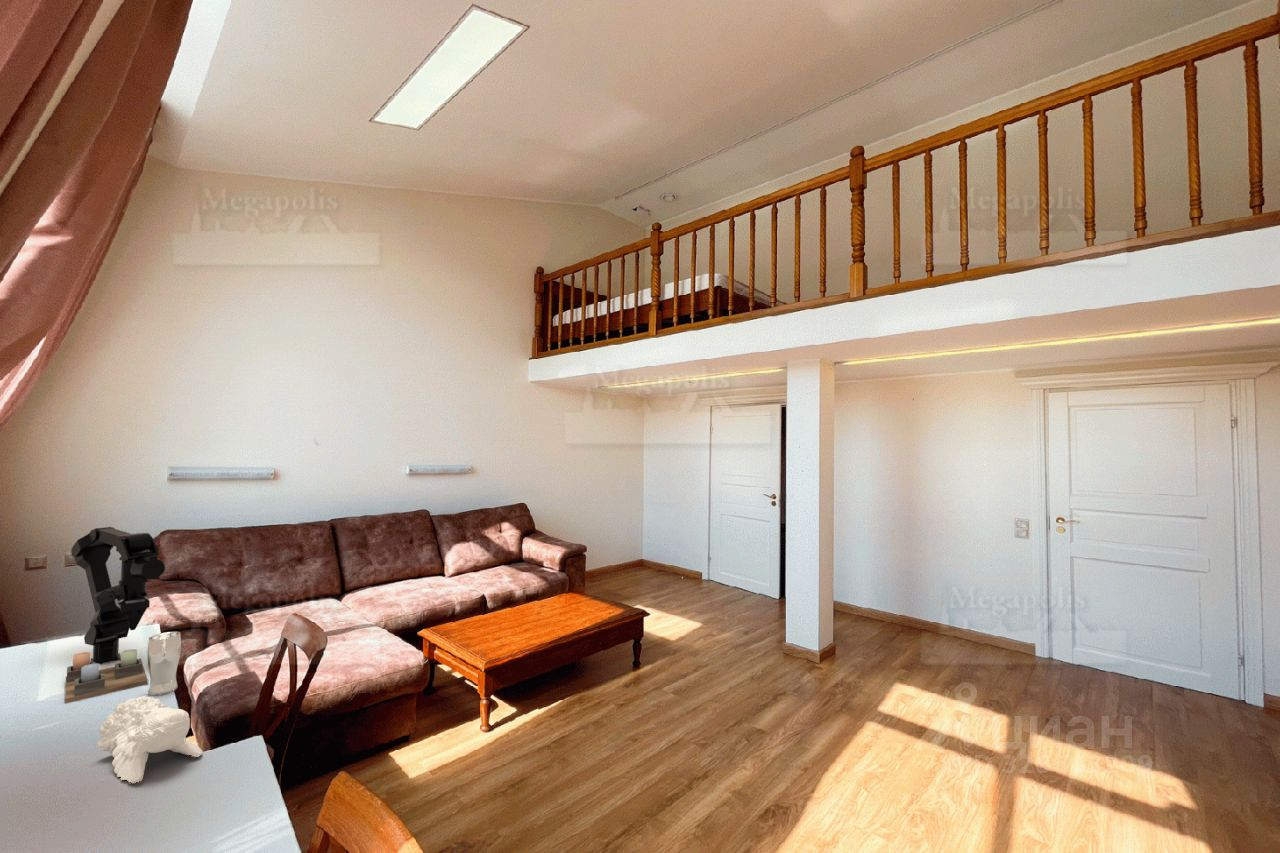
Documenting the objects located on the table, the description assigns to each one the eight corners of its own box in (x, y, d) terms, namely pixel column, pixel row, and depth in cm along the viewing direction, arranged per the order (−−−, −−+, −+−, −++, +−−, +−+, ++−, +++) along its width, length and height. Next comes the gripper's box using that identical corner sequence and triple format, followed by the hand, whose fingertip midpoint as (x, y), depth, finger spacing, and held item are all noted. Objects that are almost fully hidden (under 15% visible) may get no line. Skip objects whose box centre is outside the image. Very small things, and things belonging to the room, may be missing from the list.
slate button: (80, 682, 147) (81, 665, 147) (98, 678, 149) (99, 662, 149) (80, 686, 144) (81, 669, 145) (98, 682, 147) (99, 665, 147)
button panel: (65, 681, 154) (66, 666, 155) (141, 664, 166) (142, 651, 166) (64, 703, 141) (65, 687, 142) (147, 684, 153) (148, 669, 153)
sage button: (120, 667, 157) (120, 651, 157) (136, 663, 159) (136, 648, 160) (120, 670, 155) (121, 654, 155) (137, 667, 157) (137, 651, 157)
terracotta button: (72, 670, 155) (73, 654, 155) (89, 666, 157) (90, 651, 157) (72, 673, 152) (73, 657, 152) (89, 670, 155) (90, 654, 155)
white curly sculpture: (174, 686, 129) (212, 697, 119) (172, 741, 127) (211, 758, 117) (98, 707, 117) (133, 721, 107) (95, 768, 116) (131, 789, 106)
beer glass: (163, 696, 145) (166, 640, 146) (138, 696, 145) (140, 639, 146) (186, 685, 152) (188, 631, 153) (161, 685, 152) (163, 631, 153)
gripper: (95, 574, 165) (93, 626, 165) (97, 586, 153) (95, 642, 152) (144, 569, 173) (143, 618, 173) (150, 579, 161) (148, 632, 160)
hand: (131, 627), depth 164 cm, fingers open, 5 cm apart
